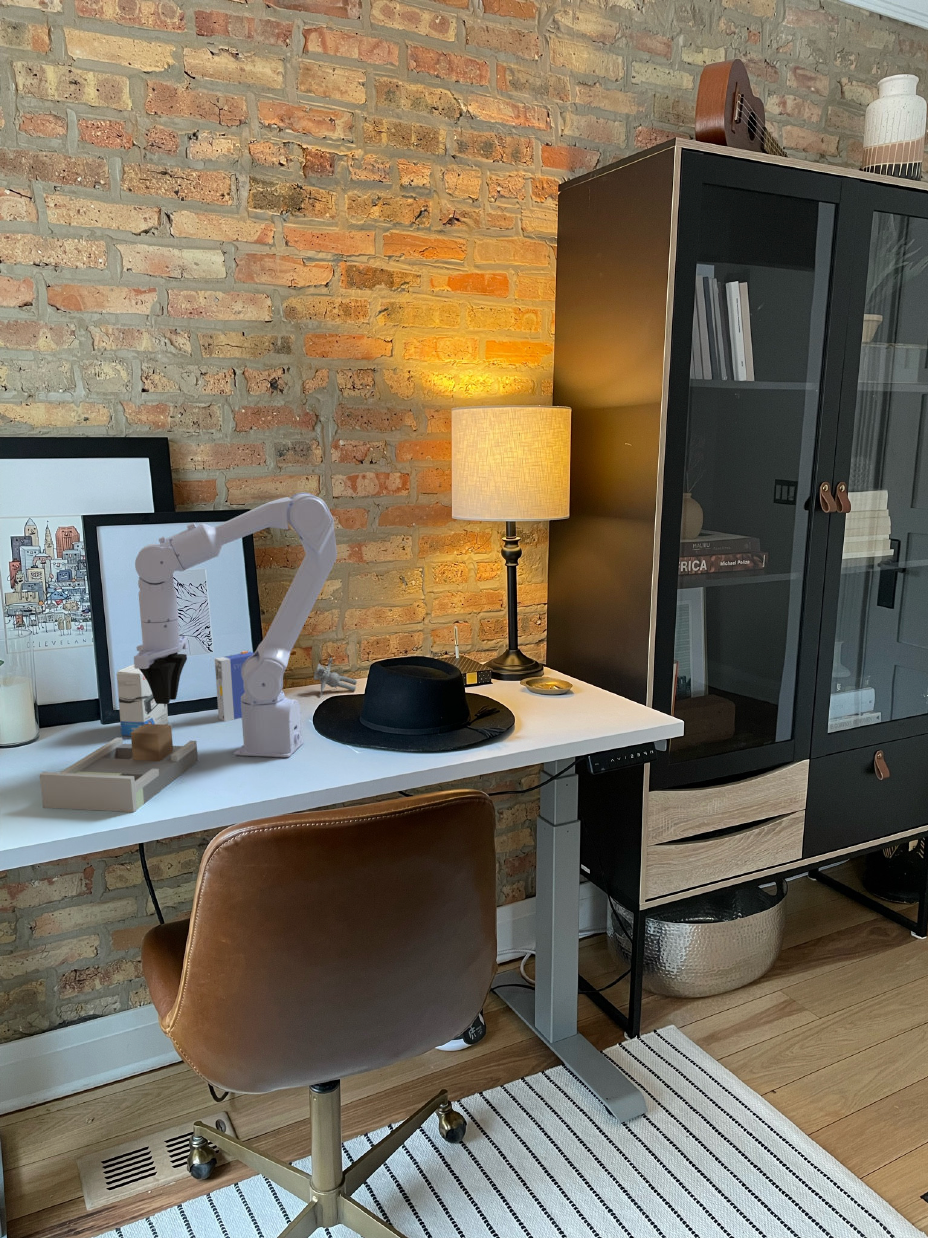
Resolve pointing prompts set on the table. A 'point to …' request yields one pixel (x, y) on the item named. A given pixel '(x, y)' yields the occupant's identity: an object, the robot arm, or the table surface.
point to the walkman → (230, 685)
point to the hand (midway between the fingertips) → (166, 701)
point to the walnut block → (152, 742)
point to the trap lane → (114, 778)
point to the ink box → (137, 701)
